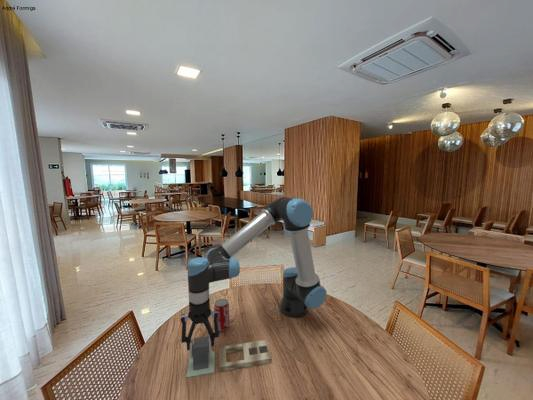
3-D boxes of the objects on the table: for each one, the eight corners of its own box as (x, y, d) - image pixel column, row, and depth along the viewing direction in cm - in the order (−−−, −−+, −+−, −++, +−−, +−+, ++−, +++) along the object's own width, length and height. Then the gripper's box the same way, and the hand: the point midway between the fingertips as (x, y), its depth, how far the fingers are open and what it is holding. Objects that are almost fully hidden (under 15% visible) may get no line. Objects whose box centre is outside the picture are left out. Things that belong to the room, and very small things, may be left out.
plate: (266, 344, 95) (266, 339, 95) (271, 362, 86) (271, 358, 85) (219, 351, 91) (219, 346, 91) (219, 372, 82) (219, 367, 81)
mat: (215, 352, 91) (214, 351, 91) (214, 373, 81) (214, 372, 81) (190, 356, 89) (190, 355, 89) (186, 378, 79) (186, 377, 79)
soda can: (226, 333, 102) (225, 307, 101) (212, 331, 104) (211, 305, 102) (231, 323, 109) (231, 299, 108) (218, 321, 110) (217, 297, 109)
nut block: (209, 356, 88) (208, 335, 87) (208, 368, 83) (207, 346, 82) (195, 358, 87) (194, 337, 86) (193, 370, 82) (192, 348, 81)
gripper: (224, 291, 88) (226, 344, 90) (174, 296, 84) (177, 351, 87) (225, 301, 81) (226, 358, 83) (169, 307, 77) (172, 367, 79)
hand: (201, 354), depth 85 cm, fingers open, 6 cm apart
